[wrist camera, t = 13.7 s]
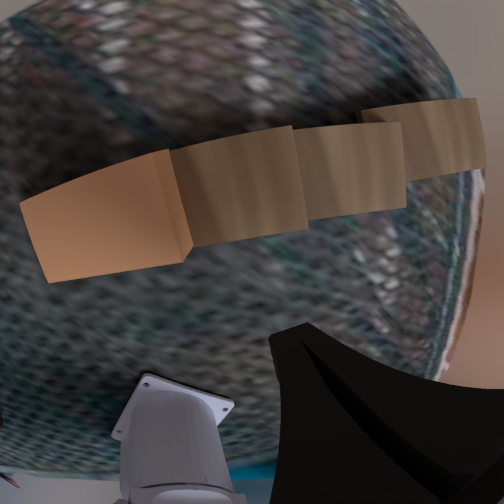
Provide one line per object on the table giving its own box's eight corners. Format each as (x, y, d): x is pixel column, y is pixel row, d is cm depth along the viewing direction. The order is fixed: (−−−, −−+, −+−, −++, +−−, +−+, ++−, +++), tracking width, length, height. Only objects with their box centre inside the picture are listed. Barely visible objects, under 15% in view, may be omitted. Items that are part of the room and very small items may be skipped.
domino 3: (255, 228, 17) (406, 207, 16) (238, 138, 15) (400, 121, 14) (255, 218, 19) (393, 199, 18) (241, 137, 17) (386, 122, 16)
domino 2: (139, 256, 16) (308, 228, 15) (113, 168, 14) (291, 125, 13) (152, 243, 18) (304, 216, 16) (129, 162, 16) (289, 125, 14)
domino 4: (378, 187, 18) (487, 167, 16) (360, 110, 16) (476, 97, 14) (370, 181, 20) (473, 162, 18) (354, 111, 18) (462, 98, 16)
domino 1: (48, 283, 15) (183, 262, 13) (19, 203, 13) (152, 152, 12) (66, 268, 17) (193, 245, 15) (40, 193, 15) (168, 148, 13)
